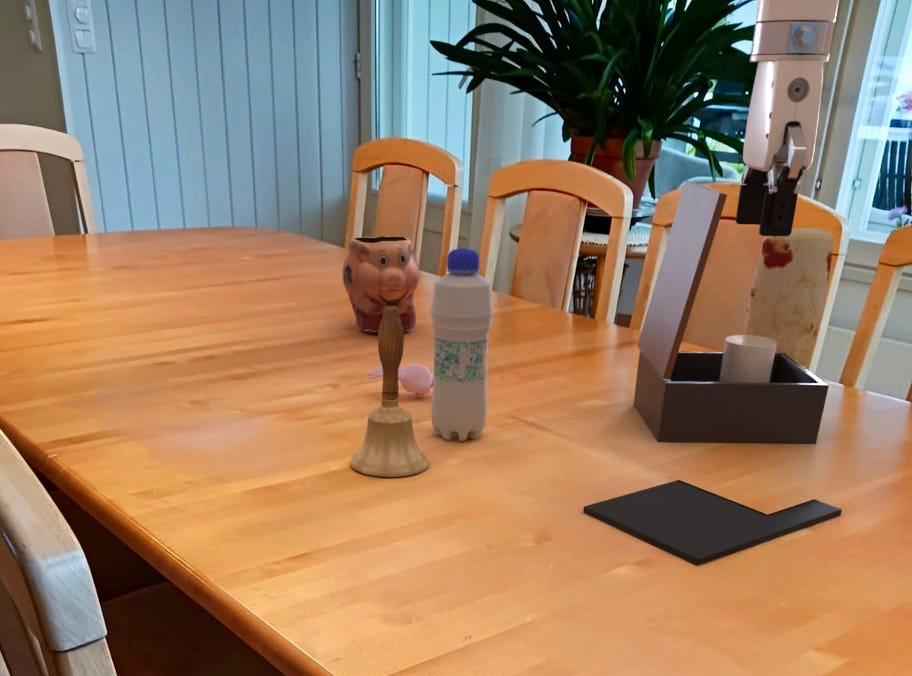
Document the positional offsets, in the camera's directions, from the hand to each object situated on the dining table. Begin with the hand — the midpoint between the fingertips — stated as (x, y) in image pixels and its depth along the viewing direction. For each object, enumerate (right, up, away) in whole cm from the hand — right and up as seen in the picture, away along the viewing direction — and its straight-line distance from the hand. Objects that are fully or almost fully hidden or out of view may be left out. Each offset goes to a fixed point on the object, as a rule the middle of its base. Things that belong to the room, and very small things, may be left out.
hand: (761, 229), depth 105 cm
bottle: (-33, -21, +6) cm, 40 cm away
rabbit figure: (-37, -13, +19) cm, 43 cm away
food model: (+10, -11, +26) cm, 30 cm away
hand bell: (-40, -26, -3) cm, 48 cm away
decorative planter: (-44, +6, +54) cm, 70 cm away
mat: (-9, -33, -14) cm, 37 cm away
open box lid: (-9, -5, 0) cm, 10 cm away
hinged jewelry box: (-2, -20, +9) cm, 22 cm away
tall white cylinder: (0, -19, +8) cm, 21 cm away
